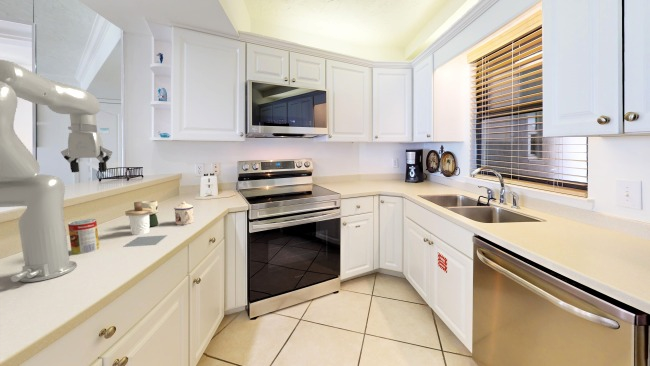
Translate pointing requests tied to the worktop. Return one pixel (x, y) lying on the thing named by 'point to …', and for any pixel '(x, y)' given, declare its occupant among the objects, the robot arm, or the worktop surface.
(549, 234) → the worktop surface
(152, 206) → the character mug
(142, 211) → the lid
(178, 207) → the teacup with lid
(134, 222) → the white cup
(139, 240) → the mat
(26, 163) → the robot arm
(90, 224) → the canned food
